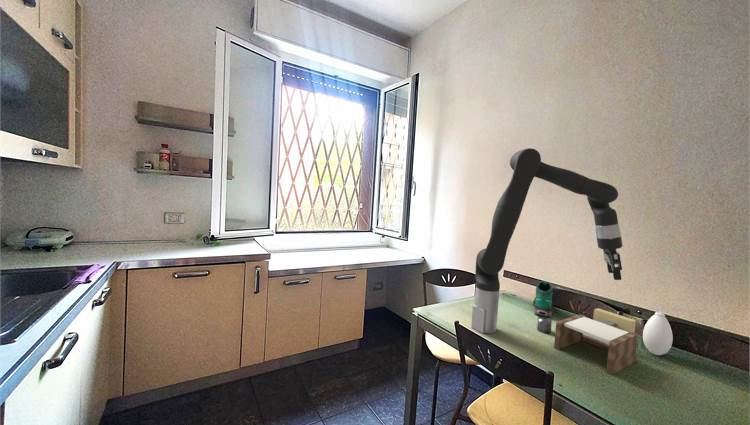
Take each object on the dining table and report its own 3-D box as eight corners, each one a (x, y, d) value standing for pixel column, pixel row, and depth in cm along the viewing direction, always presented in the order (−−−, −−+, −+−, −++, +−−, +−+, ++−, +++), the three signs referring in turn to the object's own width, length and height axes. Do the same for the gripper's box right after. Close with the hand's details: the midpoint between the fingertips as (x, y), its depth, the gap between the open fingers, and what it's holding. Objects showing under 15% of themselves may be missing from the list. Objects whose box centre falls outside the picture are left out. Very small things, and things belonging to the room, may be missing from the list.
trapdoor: (609, 351, 95) (611, 333, 94) (562, 332, 107) (564, 316, 107) (638, 337, 106) (640, 321, 105) (593, 321, 118) (594, 307, 118)
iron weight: (546, 334, 119) (547, 322, 119) (534, 329, 123) (535, 318, 123) (553, 332, 121) (554, 320, 121) (541, 327, 126) (542, 315, 125)
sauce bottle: (671, 355, 107) (677, 307, 106) (669, 362, 102) (675, 312, 101) (642, 345, 113) (647, 300, 112) (639, 352, 108) (644, 305, 107)
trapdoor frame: (611, 375, 93) (614, 344, 92) (554, 347, 109) (556, 321, 108) (637, 360, 102) (640, 332, 102) (580, 337, 118) (583, 313, 117)
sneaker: (554, 305, 153) (556, 277, 152) (551, 320, 134) (554, 288, 133) (534, 300, 159) (536, 273, 158) (529, 314, 139) (531, 283, 138)
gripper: (592, 233, 122) (598, 271, 122) (600, 240, 109) (607, 282, 110) (615, 231, 118) (621, 270, 119) (626, 238, 106) (632, 281, 106)
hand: (614, 276), depth 114 cm, fingers open, 8 cm apart
